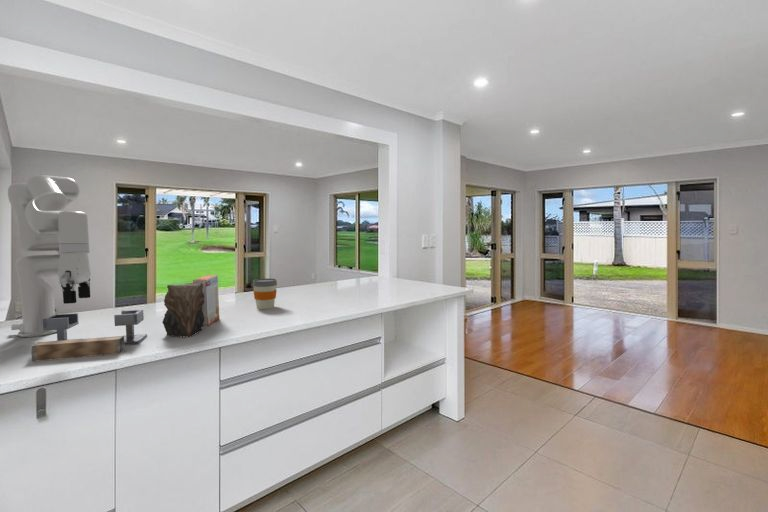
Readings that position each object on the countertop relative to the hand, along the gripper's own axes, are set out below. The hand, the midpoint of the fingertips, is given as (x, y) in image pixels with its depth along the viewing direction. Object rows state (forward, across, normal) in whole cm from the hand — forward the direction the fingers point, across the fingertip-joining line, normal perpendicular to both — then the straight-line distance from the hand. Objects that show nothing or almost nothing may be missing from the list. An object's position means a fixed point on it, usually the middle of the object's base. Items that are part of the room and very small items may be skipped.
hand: (77, 300), depth 120 cm
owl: (+19, -18, +28) cm, 38 cm away
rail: (+19, 0, 0) cm, 19 cm away
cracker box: (+19, -34, +34) cm, 52 cm away
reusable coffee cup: (+19, -61, +59) cm, 87 cm away
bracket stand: (+18, -13, 0) cm, 23 cm away
